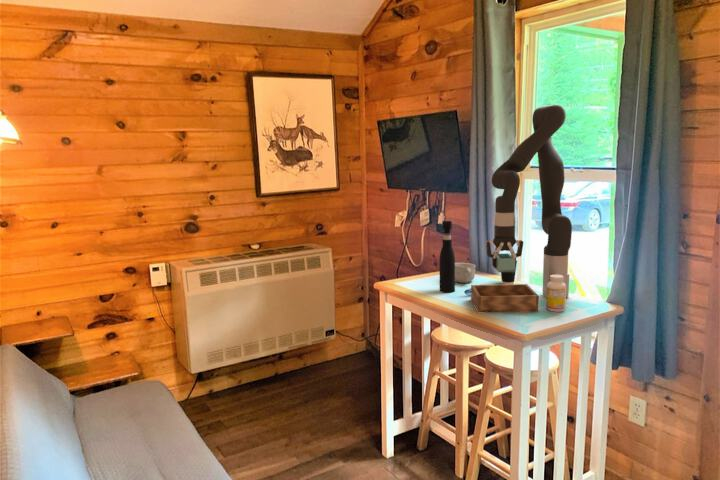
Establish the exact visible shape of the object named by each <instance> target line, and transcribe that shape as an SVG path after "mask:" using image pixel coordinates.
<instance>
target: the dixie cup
mask: <svg viewBox="0 0 720 480" xmlns="http://www.w3.org/2000/svg"><path fill="white" fill-rule="evenodd" d="M517 262H518V257H517V258H516V266H515V272H500V278H501V282H502V285H505V284H514V282H515V278H516V271H517Z"/></svg>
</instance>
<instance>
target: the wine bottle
mask: <svg viewBox="0 0 720 480" xmlns="http://www.w3.org/2000/svg"><path fill="white" fill-rule="evenodd" d="M441 225H442V230H443V239H442V247H441V250H440V254H439V291H440V292H441V293H445V294H451V293H454V292H456V281H455V263H456V257H455V252H454V249H453V245H452V242H453V240H452V235H451V230H452V229H453V228H452V227H453V221H452V220H443V221H442V224H441Z"/></svg>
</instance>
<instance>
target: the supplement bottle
mask: <svg viewBox="0 0 720 480" xmlns="http://www.w3.org/2000/svg"><path fill="white" fill-rule="evenodd" d="M550 280H551V281H550V282H548V284H547V297H546V309H547V310H548V311H550V312H557V313H558V312H559V313H560V312H564V311H565V310H566V301H567V299H566V298H567V297H566V284H565V283H564V282H563V276H562V275H550Z"/></svg>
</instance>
